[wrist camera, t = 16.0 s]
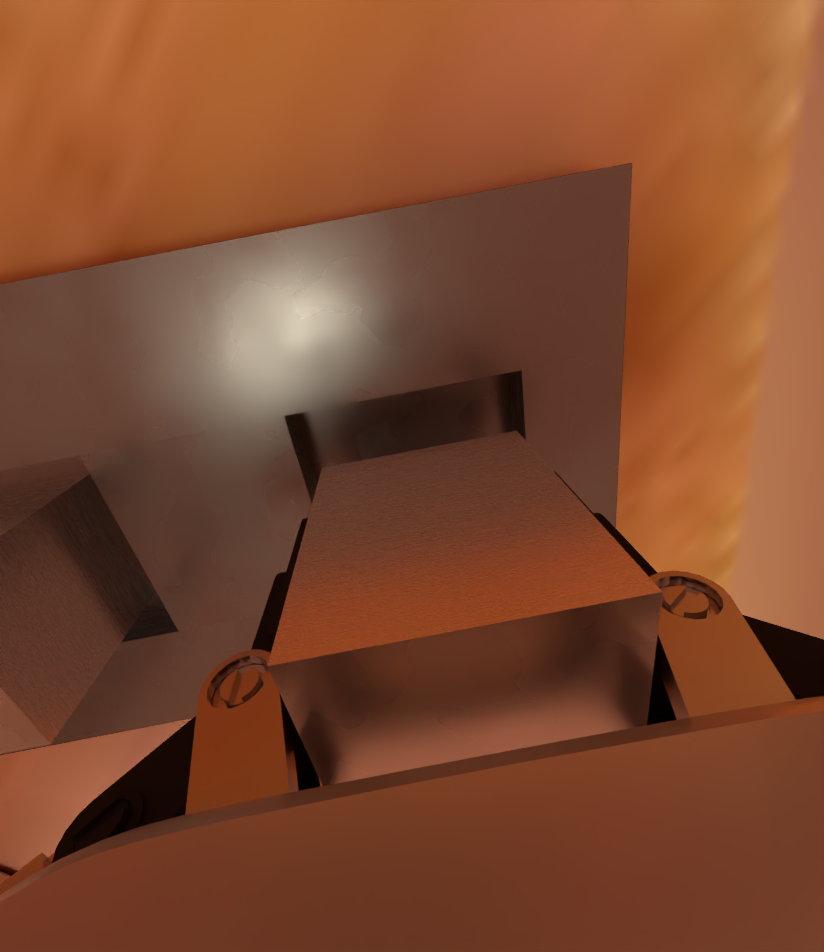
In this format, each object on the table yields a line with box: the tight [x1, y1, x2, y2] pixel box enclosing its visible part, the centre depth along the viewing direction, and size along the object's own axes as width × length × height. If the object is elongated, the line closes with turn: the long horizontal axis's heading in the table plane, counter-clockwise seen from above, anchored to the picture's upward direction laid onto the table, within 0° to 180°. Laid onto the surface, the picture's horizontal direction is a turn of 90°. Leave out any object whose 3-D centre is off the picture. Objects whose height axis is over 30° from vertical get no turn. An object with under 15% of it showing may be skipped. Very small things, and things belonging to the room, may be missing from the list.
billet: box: [267, 431, 662, 786], centre depth 9 cm, size 5×5×6 cm
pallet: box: [0, 163, 632, 755], centre depth 15 cm, size 16×26×2 cm, turn 100°
